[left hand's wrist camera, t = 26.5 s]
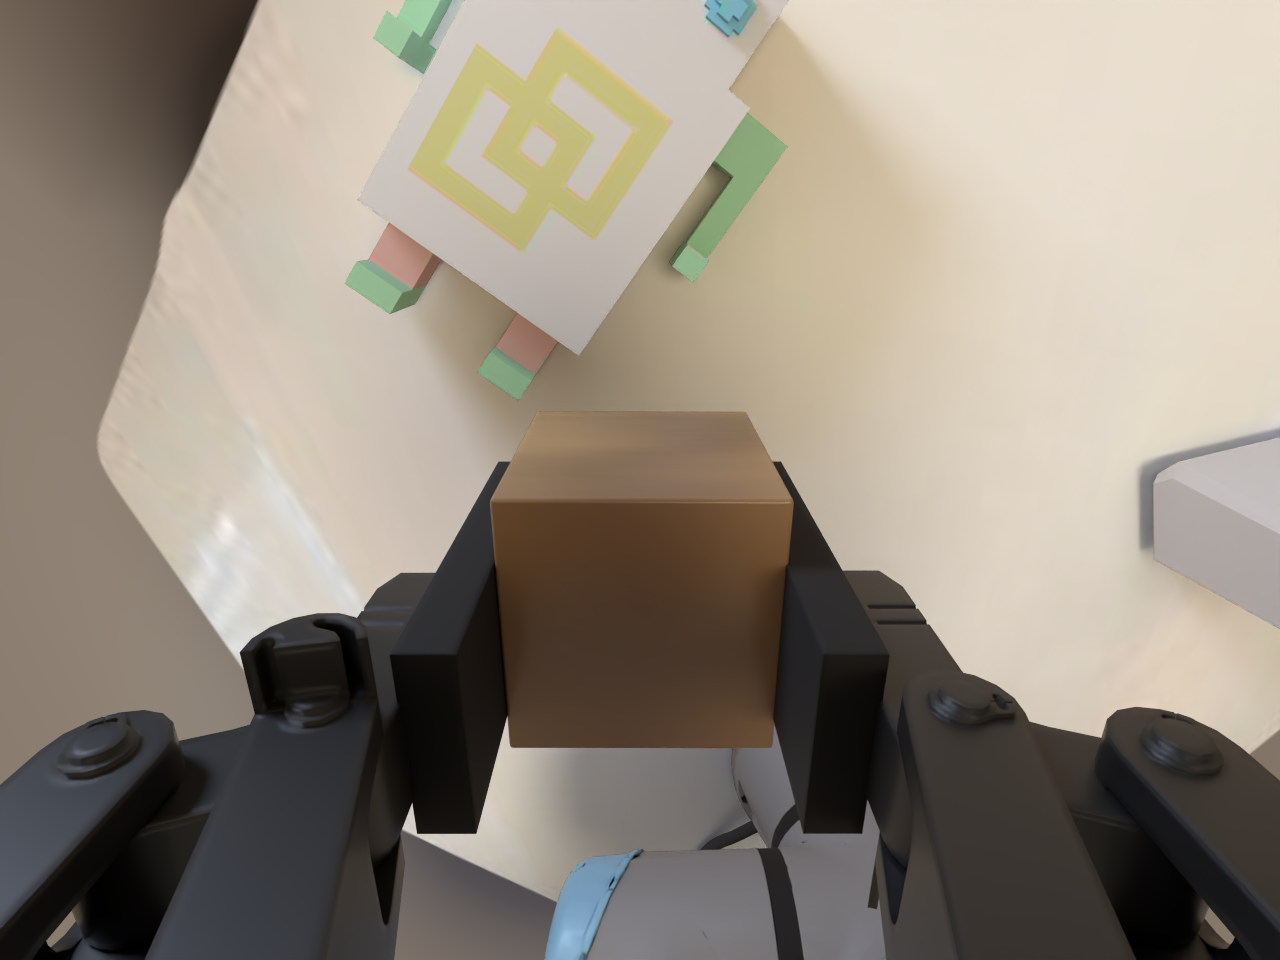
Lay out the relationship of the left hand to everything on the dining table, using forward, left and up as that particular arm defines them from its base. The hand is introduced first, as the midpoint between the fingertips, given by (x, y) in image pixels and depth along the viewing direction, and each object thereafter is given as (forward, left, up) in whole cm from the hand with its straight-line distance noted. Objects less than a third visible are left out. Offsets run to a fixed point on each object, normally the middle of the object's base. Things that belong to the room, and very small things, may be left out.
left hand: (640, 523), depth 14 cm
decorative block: (+6, +8, -33) cm, 34 cm away
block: (0, 0, 0) cm, 0 cm away
